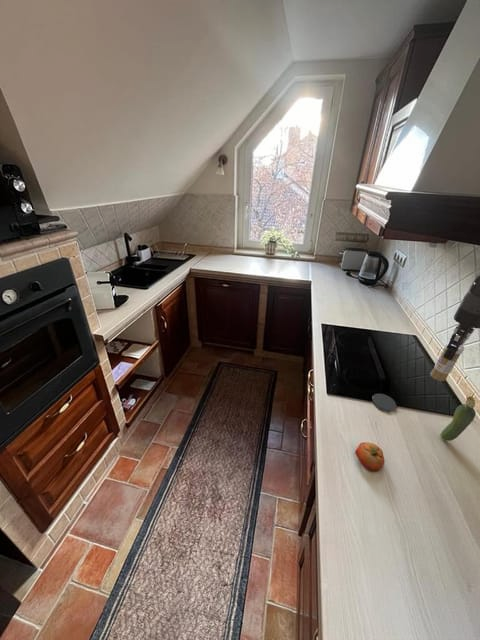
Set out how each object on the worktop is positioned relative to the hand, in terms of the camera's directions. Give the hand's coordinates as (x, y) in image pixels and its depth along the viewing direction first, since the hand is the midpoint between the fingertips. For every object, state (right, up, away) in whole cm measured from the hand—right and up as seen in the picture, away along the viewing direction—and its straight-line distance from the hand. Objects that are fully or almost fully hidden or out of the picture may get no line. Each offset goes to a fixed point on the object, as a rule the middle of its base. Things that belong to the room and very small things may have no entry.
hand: (450, 355), depth 81 cm
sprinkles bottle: (0, -8, +5) cm, 10 cm away
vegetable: (-1, -28, 0) cm, 28 cm away
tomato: (-29, -31, -5) cm, 42 cm away
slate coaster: (-14, -20, +13) cm, 28 cm away
